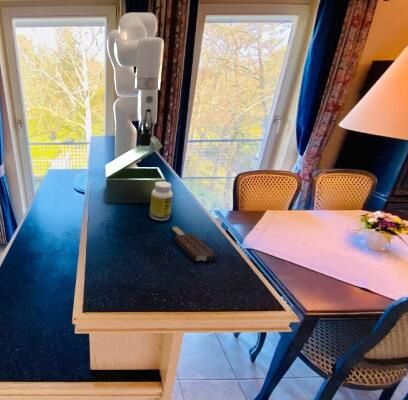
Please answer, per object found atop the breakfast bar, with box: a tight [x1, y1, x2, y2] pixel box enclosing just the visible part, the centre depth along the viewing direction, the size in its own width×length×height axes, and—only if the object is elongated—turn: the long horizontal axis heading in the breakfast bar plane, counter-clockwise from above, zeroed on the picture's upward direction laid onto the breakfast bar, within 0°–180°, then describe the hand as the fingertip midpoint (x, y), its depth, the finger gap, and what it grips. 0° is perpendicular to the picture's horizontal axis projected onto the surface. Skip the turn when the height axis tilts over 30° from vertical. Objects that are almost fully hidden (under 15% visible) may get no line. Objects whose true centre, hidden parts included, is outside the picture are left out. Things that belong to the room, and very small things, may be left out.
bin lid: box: [105, 135, 163, 179], centre depth 90 cm, size 20×13×5 cm
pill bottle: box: [149, 181, 174, 222], centre depth 80 cm, size 6×6×11 cm
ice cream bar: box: [171, 226, 215, 263], centre depth 69 cm, size 5×2×15 cm
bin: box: [105, 167, 167, 204], centre depth 95 cm, size 20×13×9 cm, turn 89°
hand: (143, 142), depth 89 cm, fingers closed on bin lid, 5 cm apart
